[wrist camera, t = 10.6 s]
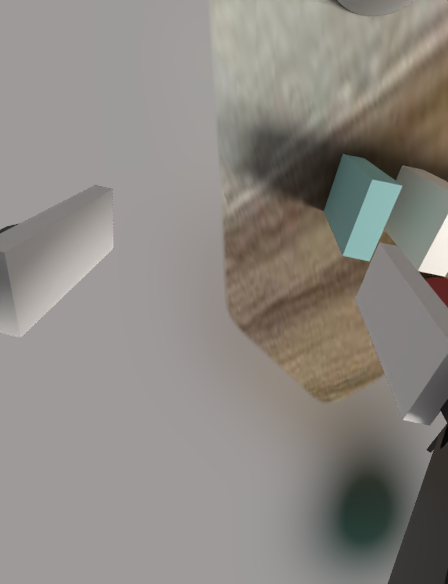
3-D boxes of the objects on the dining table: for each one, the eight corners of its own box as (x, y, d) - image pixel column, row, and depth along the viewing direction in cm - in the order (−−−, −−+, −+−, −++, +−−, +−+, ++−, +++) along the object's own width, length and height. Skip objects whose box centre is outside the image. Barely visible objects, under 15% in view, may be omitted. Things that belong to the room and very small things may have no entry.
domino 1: (323, 211, 31) (342, 255, 22) (342, 153, 28) (372, 179, 20) (343, 215, 31) (369, 261, 22) (364, 158, 28) (402, 185, 20)
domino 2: (377, 221, 31) (417, 271, 22) (402, 165, 28) (457, 196, 20) (397, 225, 31) (444, 276, 22) (423, 169, 28) (488, 202, 20)
